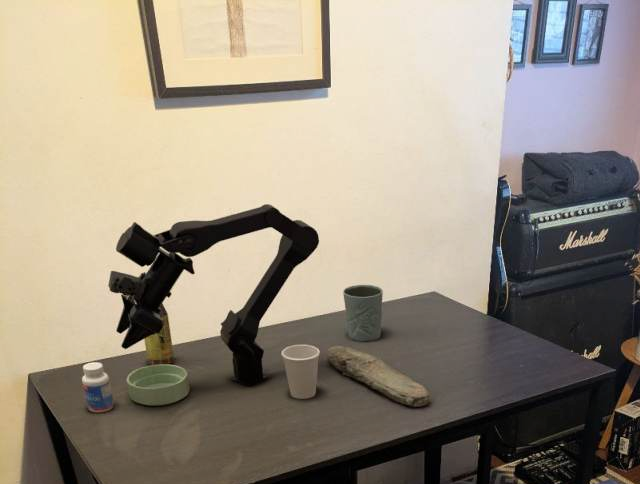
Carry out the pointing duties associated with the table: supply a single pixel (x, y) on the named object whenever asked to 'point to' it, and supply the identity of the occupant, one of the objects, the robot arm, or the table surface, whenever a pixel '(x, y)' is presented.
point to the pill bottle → (97, 388)
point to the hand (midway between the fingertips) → (120, 340)
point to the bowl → (158, 384)
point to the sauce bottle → (160, 343)
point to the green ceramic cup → (363, 312)
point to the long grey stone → (377, 375)
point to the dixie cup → (301, 370)
